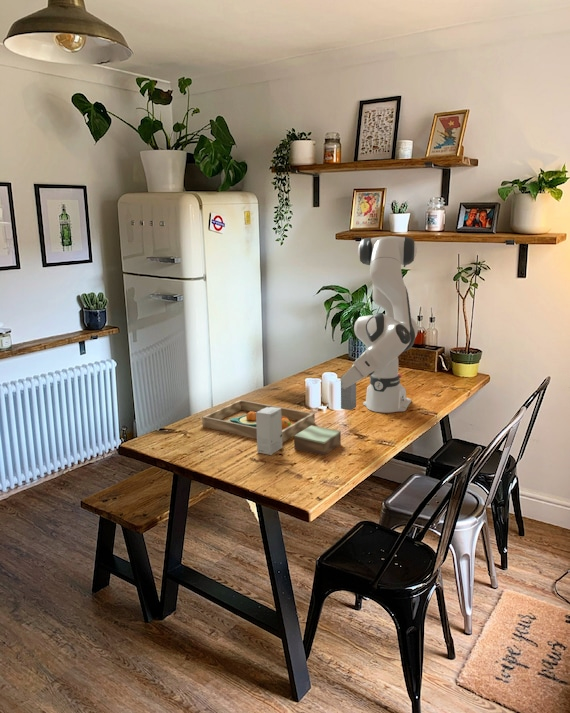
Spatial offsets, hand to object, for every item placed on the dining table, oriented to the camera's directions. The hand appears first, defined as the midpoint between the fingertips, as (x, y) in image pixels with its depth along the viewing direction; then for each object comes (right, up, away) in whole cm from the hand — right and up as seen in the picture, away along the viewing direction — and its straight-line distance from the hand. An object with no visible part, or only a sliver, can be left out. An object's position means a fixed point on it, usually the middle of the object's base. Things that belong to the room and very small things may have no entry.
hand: (346, 385), depth 216 cm
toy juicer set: (-33, -18, +21) cm, 43 cm away
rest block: (-10, -22, 0) cm, 24 cm away
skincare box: (-27, -23, -2) cm, 36 cm away
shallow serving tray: (-32, -17, +23) cm, 43 cm away
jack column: (+1, -8, +2) cm, 8 cm away
